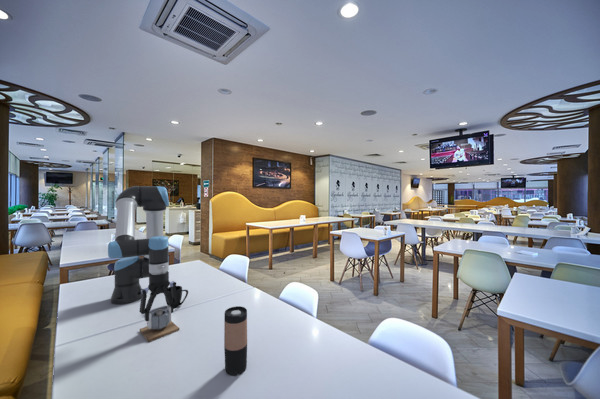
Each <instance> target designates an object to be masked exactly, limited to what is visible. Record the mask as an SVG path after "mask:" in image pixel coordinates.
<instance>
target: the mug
mask: <svg viewBox="0 0 600 399" xmlns="http://www.w3.org/2000/svg"><path fill="white" fill-rule="evenodd" d="M167 291H168V294H169V296H170V298H171V300H172V301H173V299H172V293H171V287H170V286H168V288H167ZM183 292H185V296H184V297H183V300H182V296H183ZM176 294H177V300H178V302H177V303H176V304H174V306H173V309H176V308H178V307H181V306H182V305H183V303H184V302H185V301H186V299H187V298H188V294H189V290H188V289H183V286H181V285H176ZM164 298H165V303H166V307H167V306H168V305H169V304H168V302H167V300H166V297H165V296H164Z"/></svg>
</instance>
